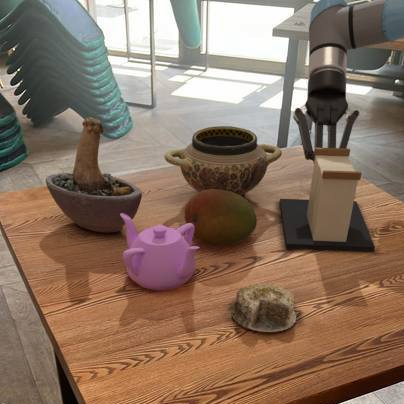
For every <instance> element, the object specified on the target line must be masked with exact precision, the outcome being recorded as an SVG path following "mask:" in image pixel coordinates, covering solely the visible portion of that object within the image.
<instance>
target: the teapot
mask: <svg viewBox="0 0 404 404" xmlns="http://www.w3.org/2000/svg"><path fill="white" fill-rule="evenodd" d="M120 216H121V217H122V218H123V220H124V222H125V224H126V225H125V229H126V245H127V248H128V249H126V250H124V252H123V254H122V260H123V263H124V265H125V266H126V267H125V268H126V273H127V275H128V276H129V278H130V279H131V280H132V281H133V282H135V283H136V284H137V285H139V286H140V287H142V288H145V289H146V290H147V289H148V290H151V291H169V290H173V289H177V288H179V287H181V286H183V285H184V284H186V283H187V282H188V281H189V280H190V279H191V278H192V277H193V275H194V274H195V271H196V266H197V264H196V252H197V250H200V249H201V248H200V246H197V245H194V246H193V245H191V243H192V240H193V238H194V236H193V235H194V225H193V224H192V223H187V224H186V223H185V224H183V225H181V226H179V227H178V228H176V229H175V228H172V227H169V226H166V225H164V224H156V225H154V226H152V227H148V228H145V229H144V230H142V231H141V232H140V233H138V232H137V229H136V226H135V224H134V222H133V219H132V220H131V218H130V217H129V216H128V215H126V214H124V213H120ZM184 233H185V235H183V234H184Z"/></svg>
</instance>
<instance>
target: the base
mask: <svg viewBox="0 0 404 404" xmlns="http://www.w3.org/2000/svg"><path fill="white" fill-rule="evenodd" d="M361 179H362V171H359V170H358V171H357V170H355V168H354V167H353V168H351V167H320V168H319V174H318V181H317V188H316V195H315V201H314V208H313V215H312V222H311V228H310V226H309V222H308V218H307V210H308V203H309V199H306V198H305V199H304V198H303V199H300V198H299V199H297V198H279V202H278V203H279V210H280V216H281V217H280V218H281V223H282V231H283V238H284V243H285V249H291V250H314V251H315V250H318V251H319V250H320V251H344V252H370V253H371V252H375V248H376V246H375V244H374V241H373V239H372V237H371V234H370V232H369V229H368V227H367V224H366V222H365V219H364V216H363V214H362V212H361V209H360V207H359V204H358V201H357V200H355V197H356V192H357V187H358V186H357V185H358V182H359V181H361Z"/></svg>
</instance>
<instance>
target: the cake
mask: <svg viewBox="0 0 404 404" xmlns="http://www.w3.org/2000/svg"><path fill="white" fill-rule="evenodd" d="M235 298H236V299H235V301H234V305H233V307H232V309H231V316H232V319H233V320H234V321H235V322H236V323H237V324H238V325H239V326H241V327H244V328H245V329H249V330H252V331H255V332H261V333H276V332H282V331H286V330H288V329H290V328H292V326H294V324H295V323H296V321H297V313H296V312H295V309H294V307H295V303H296V301H295V296H294V294H292V292H291V291H289V290H287V289H285V288H283V287H282V286H277V285H276V284H274V285H273V284H270V283H269V284H268V283H267V284H264V283H254V284H250V285H248V286H246V287H241V288H239V289H238V291H237V292H236V296H235Z"/></svg>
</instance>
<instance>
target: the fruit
mask: <svg viewBox="0 0 404 404" xmlns="http://www.w3.org/2000/svg"><path fill="white" fill-rule="evenodd" d="M184 221H185V224H187V223H192V224H193V225H194V235H193V238H195V239H197V240H198V241H200V242H201V243H204V244H206V245H210V246H215V247H225V246H232V245H236V244H237V243H240V242H242V241H244V240H245V239H247V238H248V237H249V236H250V235H252V233H253V232H254V230H256V227H257V223H258V219H257V213H256V211H255V209H254V207H253V205H252V204H251V203H250V202H249V200H247V199H246V197H245V198H243V197H242V196H240V195H238V194H236V193H233V192H230V191H226V190H220V189H208V190H204V191H201V192H197V193H195V194H193V196H192V197H191V198H190V199H189V200H188V201H187V203H186V205H185V209H184Z"/></svg>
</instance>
